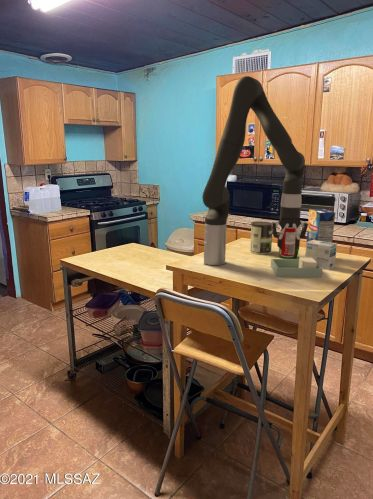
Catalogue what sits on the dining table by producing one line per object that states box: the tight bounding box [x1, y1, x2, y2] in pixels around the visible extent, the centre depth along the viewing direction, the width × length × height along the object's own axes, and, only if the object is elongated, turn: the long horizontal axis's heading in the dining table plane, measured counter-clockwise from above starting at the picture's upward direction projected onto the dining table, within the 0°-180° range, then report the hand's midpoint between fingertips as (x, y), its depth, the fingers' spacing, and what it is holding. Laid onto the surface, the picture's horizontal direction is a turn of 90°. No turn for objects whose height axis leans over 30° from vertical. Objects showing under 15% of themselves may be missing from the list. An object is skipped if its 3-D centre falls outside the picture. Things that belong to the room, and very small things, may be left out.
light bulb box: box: [304, 240, 338, 271], centre depth 162 cm, size 11×7×11 cm, turn 48°
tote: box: [270, 258, 323, 278], centre depth 154 cm, size 17×13×4 cm
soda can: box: [279, 227, 296, 257], centre depth 151 cm, size 6×6×12 cm
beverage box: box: [304, 208, 336, 257], centre depth 173 cm, size 7×11×22 cm, turn 7°
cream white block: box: [298, 256, 317, 268], centre depth 154 cm, size 5×7×5 cm
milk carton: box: [278, 225, 302, 259], centre depth 174 cm, size 9×9×20 cm
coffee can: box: [249, 220, 273, 255], centre depth 185 cm, size 10×10×14 cm
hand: (287, 248), depth 152 cm, fingers closed on soda can, 5 cm apart
